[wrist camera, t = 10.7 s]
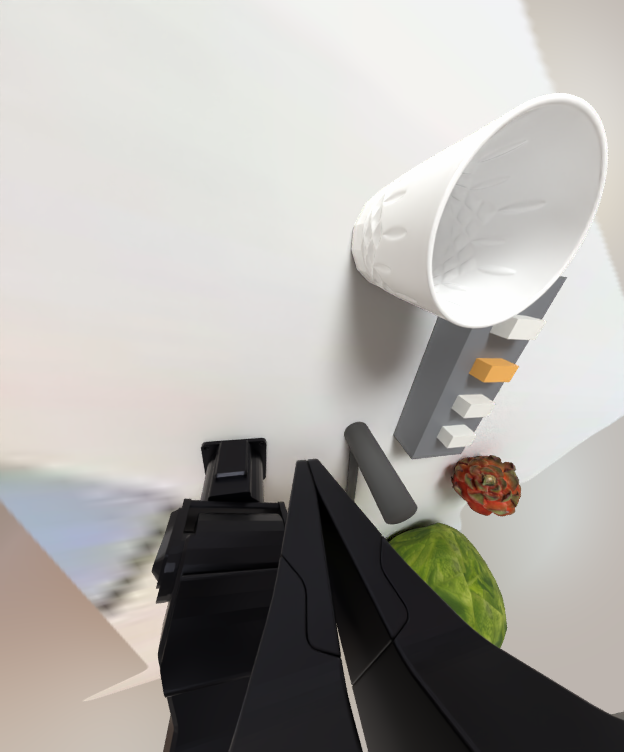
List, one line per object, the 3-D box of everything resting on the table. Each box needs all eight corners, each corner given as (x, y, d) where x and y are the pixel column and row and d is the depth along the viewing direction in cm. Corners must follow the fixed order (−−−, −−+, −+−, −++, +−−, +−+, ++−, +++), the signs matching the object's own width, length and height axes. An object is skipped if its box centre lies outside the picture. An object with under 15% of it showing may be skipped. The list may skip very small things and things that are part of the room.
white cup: (455, 198, 17) (647, 152, 9) (409, 301, 21) (516, 341, 12) (365, 154, 15) (512, 33, 6) (330, 280, 18) (396, 310, 10)
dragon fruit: (441, 442, 35) (469, 453, 42) (433, 500, 34) (464, 501, 40) (512, 457, 28) (533, 467, 35) (507, 531, 27) (530, 526, 33)
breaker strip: (438, 431, 31) (471, 464, 26) (393, 434, 29) (420, 471, 25) (518, 272, 22) (592, 279, 17) (458, 263, 20) (522, 269, 15)
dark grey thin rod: (352, 497, 35) (355, 504, 34) (344, 499, 34) (347, 506, 33) (358, 445, 29) (361, 452, 28) (349, 446, 29) (352, 454, 28)
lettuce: (327, 629, 38) (412, 719, 36) (448, 596, 27) (575, 723, 26) (350, 532, 54) (409, 591, 52) (432, 487, 43) (509, 561, 42)
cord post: (364, 439, 29) (410, 521, 20) (342, 441, 28) (380, 526, 19) (370, 421, 27) (422, 500, 19) (346, 422, 26) (390, 505, 18)
